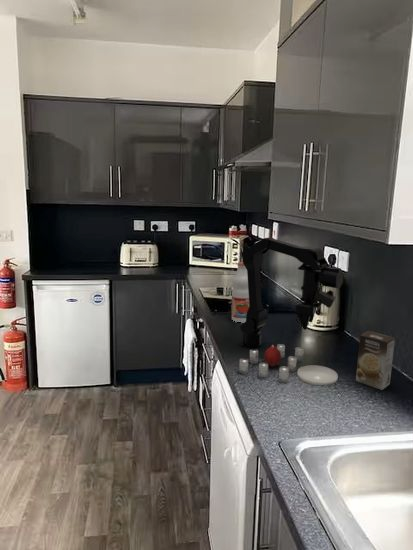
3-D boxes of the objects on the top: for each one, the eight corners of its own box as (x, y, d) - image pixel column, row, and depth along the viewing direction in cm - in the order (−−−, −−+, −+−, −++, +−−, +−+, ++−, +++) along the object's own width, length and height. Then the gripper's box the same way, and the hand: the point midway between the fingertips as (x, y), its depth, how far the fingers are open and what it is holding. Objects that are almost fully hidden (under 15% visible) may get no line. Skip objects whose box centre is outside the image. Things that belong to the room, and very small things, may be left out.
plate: (292, 380, 137) (292, 376, 137) (302, 365, 149) (303, 362, 148) (333, 388, 131) (333, 385, 131) (340, 373, 143) (340, 369, 143)
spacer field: (237, 373, 142) (238, 360, 141) (260, 351, 161) (260, 340, 160) (286, 383, 135) (287, 370, 134) (303, 359, 154) (304, 348, 153)
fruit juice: (244, 316, 206) (245, 260, 200) (255, 321, 198) (256, 263, 192) (227, 319, 202) (228, 261, 196) (238, 324, 194) (239, 264, 188)
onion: (269, 361, 152) (270, 340, 150) (283, 365, 148) (284, 344, 147) (260, 366, 148) (261, 345, 146) (275, 371, 144) (276, 349, 142)
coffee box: (354, 381, 137) (358, 334, 134) (363, 375, 141) (367, 330, 138) (382, 390, 131) (387, 341, 127) (390, 384, 135) (395, 337, 132)
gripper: (330, 292, 136) (326, 337, 139) (338, 281, 152) (335, 321, 155) (296, 288, 140) (292, 332, 144) (308, 277, 157) (305, 317, 160)
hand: (307, 325), depth 151 cm, fingers open, 9 cm apart
